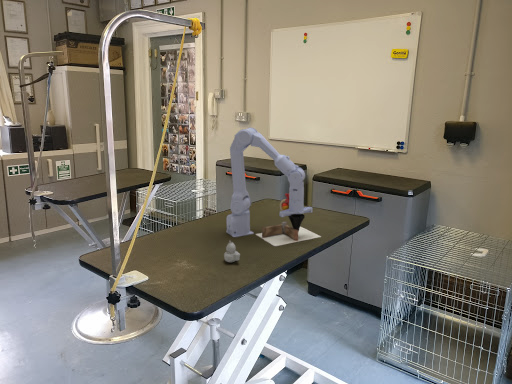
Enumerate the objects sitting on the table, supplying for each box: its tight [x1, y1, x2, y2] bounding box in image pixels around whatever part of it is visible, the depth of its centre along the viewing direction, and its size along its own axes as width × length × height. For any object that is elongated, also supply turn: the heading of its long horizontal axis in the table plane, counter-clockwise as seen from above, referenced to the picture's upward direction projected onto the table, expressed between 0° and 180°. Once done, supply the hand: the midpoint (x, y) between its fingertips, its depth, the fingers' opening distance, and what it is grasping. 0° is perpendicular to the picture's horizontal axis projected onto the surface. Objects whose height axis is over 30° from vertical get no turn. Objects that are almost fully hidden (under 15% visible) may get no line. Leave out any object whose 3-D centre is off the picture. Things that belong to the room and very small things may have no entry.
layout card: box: [255, 226, 322, 247], centre depth 166 cm, size 22×16×1 cm
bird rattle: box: [279, 193, 289, 211], centre depth 196 cm, size 6×11×9 cm
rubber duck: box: [223, 240, 241, 263], centre depth 140 cm, size 5×7×8 cm
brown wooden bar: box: [285, 224, 298, 240], centre depth 163 cm, size 9×2×4 cm, turn 26°
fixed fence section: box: [261, 221, 288, 239], centre depth 166 cm, size 11×2×5 cm, turn 118°
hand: (295, 231), depth 163 cm, fingers closed
